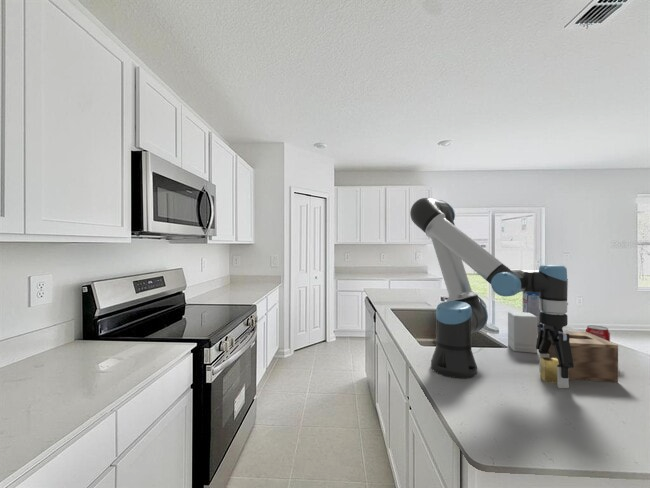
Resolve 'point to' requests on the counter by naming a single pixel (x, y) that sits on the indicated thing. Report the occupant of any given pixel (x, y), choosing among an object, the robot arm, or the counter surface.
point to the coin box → (591, 357)
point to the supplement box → (522, 331)
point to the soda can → (599, 331)
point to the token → (549, 369)
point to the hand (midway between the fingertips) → (553, 379)
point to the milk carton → (531, 304)
